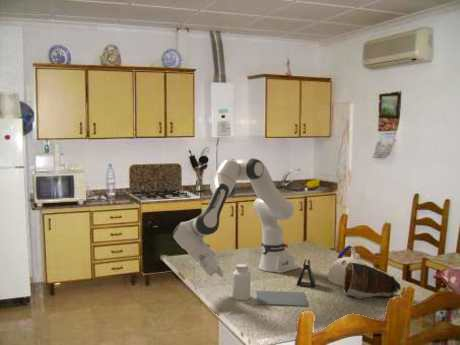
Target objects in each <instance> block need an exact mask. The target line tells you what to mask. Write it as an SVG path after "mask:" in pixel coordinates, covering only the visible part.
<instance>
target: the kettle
mask: <svg viewBox="0 0 460 345" xmlns="http://www.w3.org/2000/svg"><path fill="white" fill-rule="evenodd" d="M349 250H351V255H350V257H348V256H347V257H344V256H345V254H346V252H347V251H349ZM337 258H338V259H337V260H334V262H333V263H332V264H331V266H330V267H329V270H328V275H327V280H328V281H329V282H330V283H332V284H335V285H337V286H342V287H344V278H345V268H346V266H347V264H348V263H350V262H351V263H357V264H362V265H364V264H363V263H362V262H361V261H360V259H361V255H360V253H357V251H356V248H355V247H354V246H353V245H346V246H345V247H344V248H343V249H342V250H341V251H340V252H339V254H338V256H337Z"/></svg>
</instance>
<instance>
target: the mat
mask: <svg viewBox="0 0 460 345" xmlns="http://www.w3.org/2000/svg"><path fill="white" fill-rule="evenodd" d="M256 304H257V305H256V306H279V307H280V306H284V307H309V303H308V302H307V298H306V295H305V292H301V291H278V290H277V291H275V290H274V291H273V290H272V291H271V290H256Z"/></svg>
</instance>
